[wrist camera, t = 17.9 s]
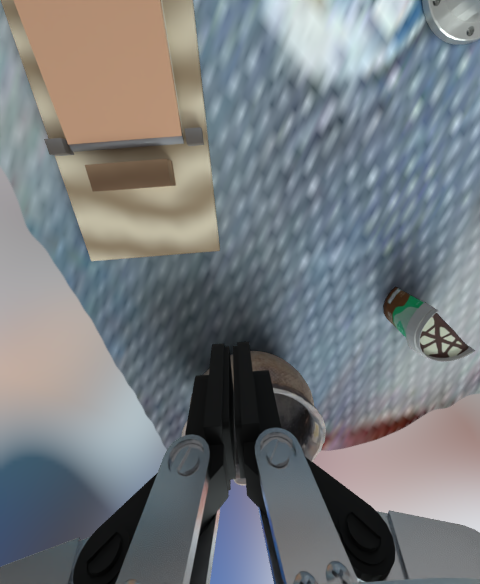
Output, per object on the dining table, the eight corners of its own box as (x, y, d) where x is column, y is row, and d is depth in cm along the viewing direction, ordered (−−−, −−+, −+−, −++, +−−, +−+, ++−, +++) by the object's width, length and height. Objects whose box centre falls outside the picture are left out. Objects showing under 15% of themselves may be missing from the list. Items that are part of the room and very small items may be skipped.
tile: (70, 152, 29) (77, 152, 30) (182, 143, 29) (184, 143, 30) (12, -3, 22) (23, 5, 24) (157, -13, 23) (161, -4, 24)
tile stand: (6, -10, 25) (-38, -48, 21) (190, -23, 25) (183, -63, 21) (96, 258, 38) (80, 267, 33) (219, 248, 38) (218, 255, 34)
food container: (363, 305, 43) (399, 337, 34) (390, 281, 42) (436, 308, 32) (400, 339, 47) (441, 376, 38) (427, 319, 45) (477, 352, 36)
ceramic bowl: (203, 414, 53) (194, 492, 40) (185, 335, 44) (166, 402, 31) (299, 404, 53) (323, 479, 40) (301, 324, 44) (333, 385, 31)
